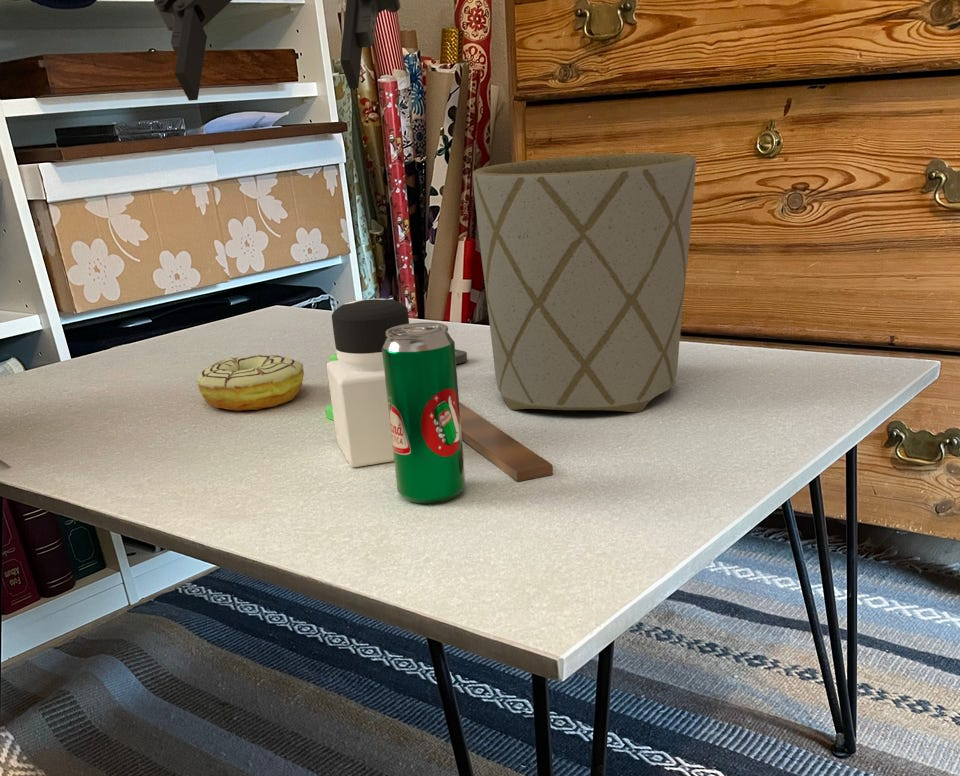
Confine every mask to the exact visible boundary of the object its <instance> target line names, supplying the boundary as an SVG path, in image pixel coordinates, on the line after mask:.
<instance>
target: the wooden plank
mask: <svg viewBox="0 0 960 776" xmlns="http://www.w3.org/2000/svg"><path fill="white" fill-rule="evenodd" d="M459 408H460V421H461V434H462V442H464V443H466V444H467V445H468V446H470V448H472V449H473V450H475V451H476V452H478V453H479V454H480V455H481V456H482V457H484V458H485V459H487V460H488V461H489V462H491V463H492V464H493V465H495V466H496V467H497V468H499V469H500V470H501V471H502V472H504V473H505V474H507V475H508V476H509V477H510V478H512V479H513V480H515V481H516V482H522V481H528V480H532V479H536V478H542V477H546V476H547V477H548V476H553V475H554V465H553V463H551V462H550V461H548V460H547V459H545V458H544V457H542V456H540V455H539V454H538V453H535V452H534V451H533V450H531V449H530V448H528V446H525V445H524V444H523V443H521V442H519V441H518V440H516V438H514V437H512V436H510V435H509V434H507V433H506V432H505V431H503V430H501V429H500V428H499V427H497V426H496V425H494V424H492V423H491V422H489V421H488V420H487V419H485V418H484V417H482V416H481V415H480V414H478V413H477V412H475V411H473V410H472V409H470V408H469V407H467V406H466V405H464V404H462V403H461V402H460V401H459Z"/></svg>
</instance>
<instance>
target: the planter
mask: <svg viewBox="0 0 960 776" xmlns="http://www.w3.org/2000/svg"><path fill="white" fill-rule="evenodd" d="M696 169H697V158H696V156H694V155H691V154H685V153H667V152H665V153H664V152H660V153H659V152H658V153H657V152H655V153H654V152H653V153H652V152H648V153H647V152H645V153H642V152H641V153H640V152H639V153H614V154H612V153H611V154H595V155H578V156H564V157H553V158H542V159H533V160H523V161H522V160H521V161H515V162H507V163H500V164H494V165H488V166H484V167H479V168H476V169H475V170H474V171H472V183H473V192H474V193H473V194H474V203H475V212H476V222H477V231H478V238H479V247H480V256H481V257H480V258H481V264H482V272H483V280H484V281H483V282H484V287H485V288H484V289H485V297H486V305H487V312H488V322H489V330H490V339H491V347H492V356H493V357H492V358H493V365H494V374H495V375H494V376H495V383H496V387H497V390H498V392H499V394H500V395H501V396H502V398H503V400H504V401H505V404H506V406H507V407H508V408H509V410H513V411H514V410H526V409H529V410H532V409H533V410H552V411H553V410H556V411H616V412H628V413H639V412H641V411H643V410H644V408H646V407H647V405H648V404H649V403H650V402H651V401H652V400H653V399H654V398H655V397H657V396H659V395H661V394H663V393H665V392H667V391H669V390H670V389H671V388H672V387H673V386H674V385H675V383H676V380H677V375H678V374H677V373H678V363H679V351H680V342H681V341H680V340H681V331H682V320H683V310H684V309H683V308H684V300H685V299H684V297H685V291H686V289H685V288H686V279H687V269H688V261H689V250H690V239H691V229H692V220H693V219H692V218H693V217H692V216H693V207H694V197H695V196H694V194H695V184H696V183H695V182H696Z"/></svg>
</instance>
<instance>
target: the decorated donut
mask: <svg viewBox="0 0 960 776" xmlns="http://www.w3.org/2000/svg"><path fill="white" fill-rule="evenodd" d="M303 367H304V364H303V363H302V362H300V361H298V360H295V359H292V358H289V357H286V356H282V355H274V354H267V355H266V354H265V355H264V354H258V355H251V356H238V357H230V358H226V359H222V360H219V361H217V362H215V363H213V364H211V365H210V366H208V367H207V368H205V369H204V370H202V371H201V372H200V373H199V374H198V376H197V380H196V382H197V385H198V391H199V392H200V393H201V397H202V398H203V399H204V400H205V402H206V403H207V404H209V405H210V406H212V407H214V408H216V409H223V410H228V411H229V410H231V411H235V412H242V411H254V410H255V411H257V410H261V409H267V408H274V407H278V406H280V405H283V404H286V403H287V402H290V401H293V400H294V399H295V397H296V396H297V395H298V394H299V392H300V391H301V389H302V386H303V381H304V376H305V371H304V368H303Z"/></svg>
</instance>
